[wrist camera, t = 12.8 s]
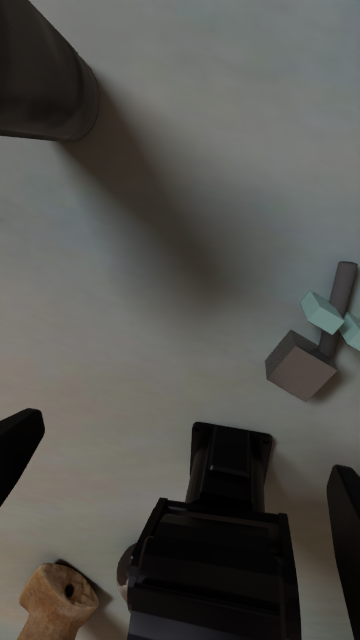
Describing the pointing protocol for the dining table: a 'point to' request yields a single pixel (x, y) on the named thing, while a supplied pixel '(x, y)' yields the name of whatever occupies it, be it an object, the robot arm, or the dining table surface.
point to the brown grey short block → (299, 366)
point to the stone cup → (56, 603)
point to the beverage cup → (42, 79)
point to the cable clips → (331, 318)
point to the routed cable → (338, 303)
